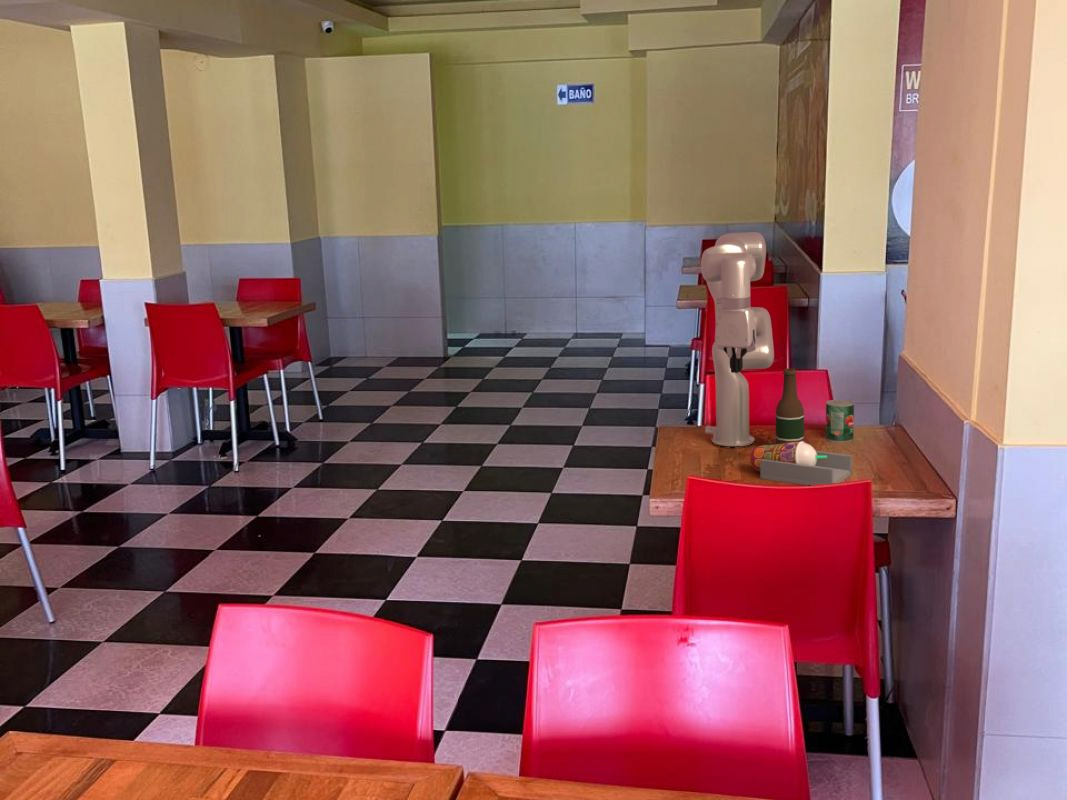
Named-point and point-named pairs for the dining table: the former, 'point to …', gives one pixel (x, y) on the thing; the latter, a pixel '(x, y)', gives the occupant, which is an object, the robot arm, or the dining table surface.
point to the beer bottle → (789, 412)
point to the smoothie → (785, 454)
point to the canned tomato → (839, 420)
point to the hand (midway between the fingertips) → (736, 371)
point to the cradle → (809, 470)
